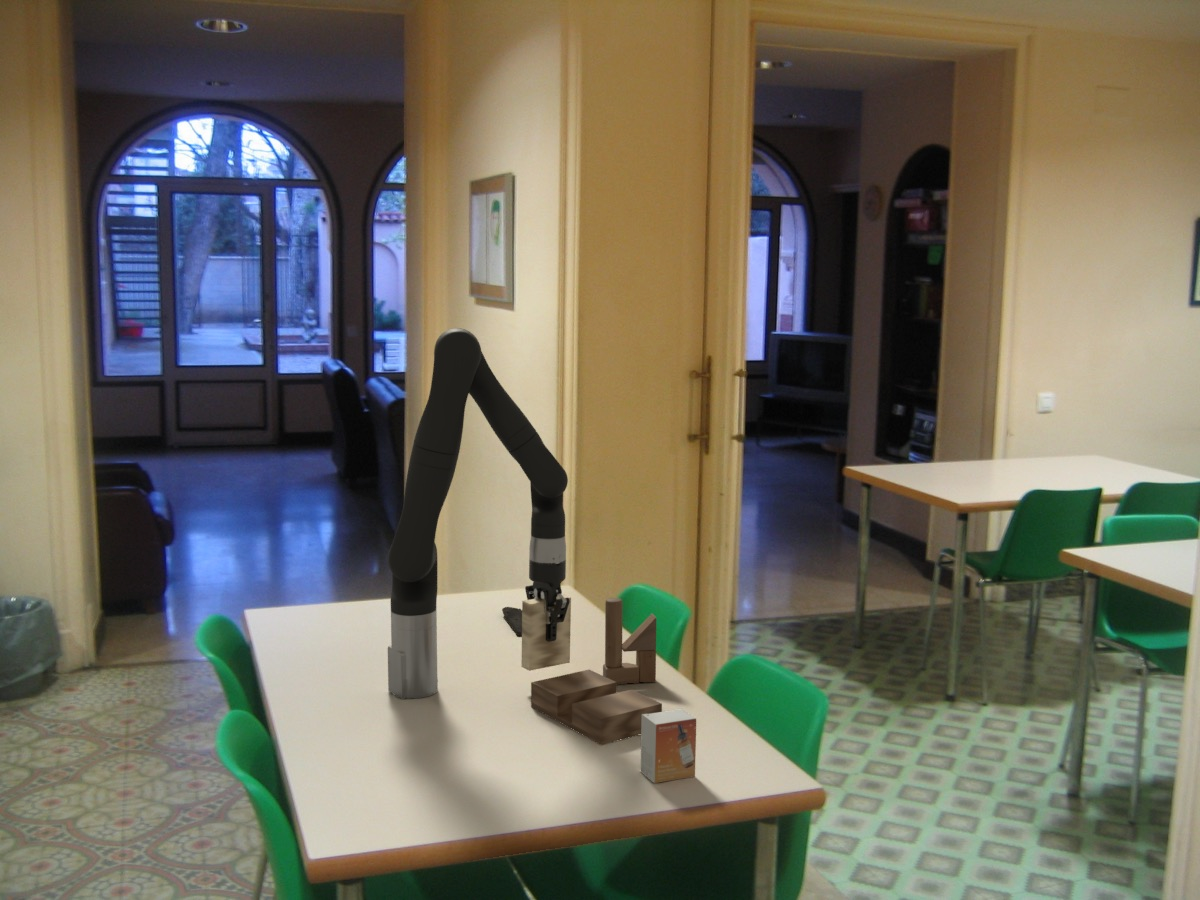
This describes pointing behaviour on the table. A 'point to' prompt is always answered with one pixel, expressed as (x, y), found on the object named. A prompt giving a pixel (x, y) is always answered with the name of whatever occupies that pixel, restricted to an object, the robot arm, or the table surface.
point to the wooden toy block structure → (628, 647)
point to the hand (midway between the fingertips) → (546, 638)
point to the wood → (514, 619)
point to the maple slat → (543, 637)
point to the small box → (668, 745)
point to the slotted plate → (592, 705)
